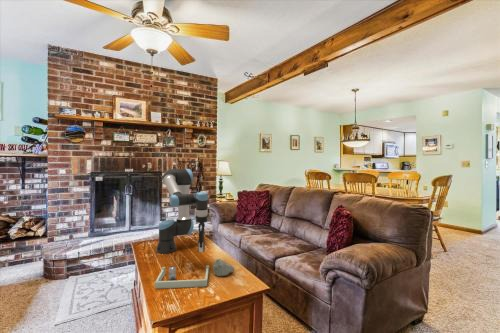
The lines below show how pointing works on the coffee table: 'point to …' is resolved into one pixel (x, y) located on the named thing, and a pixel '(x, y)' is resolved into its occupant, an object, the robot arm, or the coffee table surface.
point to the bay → (180, 281)
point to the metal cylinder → (172, 273)
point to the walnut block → (203, 245)
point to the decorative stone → (222, 268)
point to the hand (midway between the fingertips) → (201, 250)
